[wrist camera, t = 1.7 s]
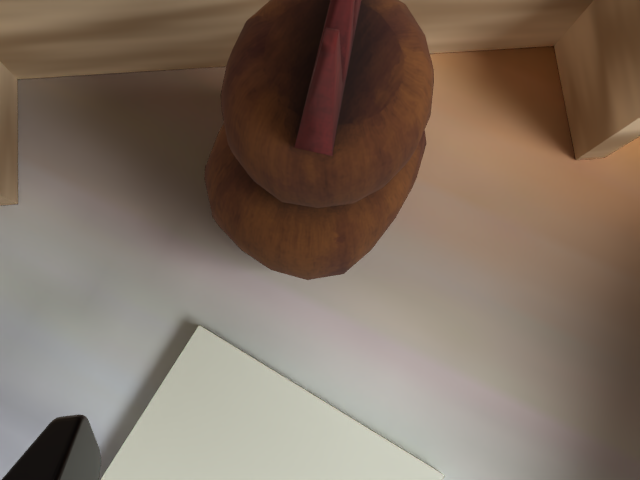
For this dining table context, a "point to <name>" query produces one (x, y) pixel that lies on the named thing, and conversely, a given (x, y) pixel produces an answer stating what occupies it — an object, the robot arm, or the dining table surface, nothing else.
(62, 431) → the robot arm
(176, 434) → the board
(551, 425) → the dining table surface
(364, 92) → the wooden figurine
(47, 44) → the shelf bay
